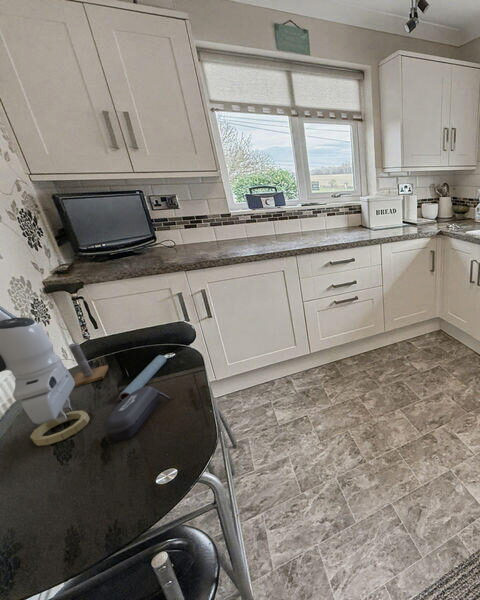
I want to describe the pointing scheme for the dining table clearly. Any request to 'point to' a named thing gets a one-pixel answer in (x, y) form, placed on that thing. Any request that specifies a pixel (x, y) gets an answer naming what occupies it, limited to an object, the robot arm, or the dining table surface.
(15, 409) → the dining table surface
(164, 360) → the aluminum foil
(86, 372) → the stand
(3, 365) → the robot arm
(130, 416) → the glasses case
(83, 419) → the tape
